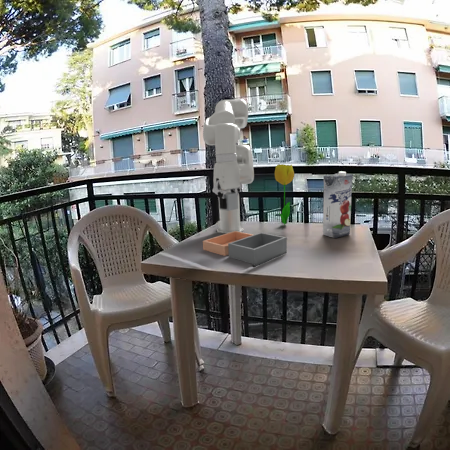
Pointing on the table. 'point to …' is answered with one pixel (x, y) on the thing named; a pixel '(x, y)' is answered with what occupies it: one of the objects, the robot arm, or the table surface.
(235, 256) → the bin
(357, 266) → the table surface
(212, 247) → the trough
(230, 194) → the block
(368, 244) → the table surface
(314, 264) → the table surface
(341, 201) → the juice carton
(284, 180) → the flower
